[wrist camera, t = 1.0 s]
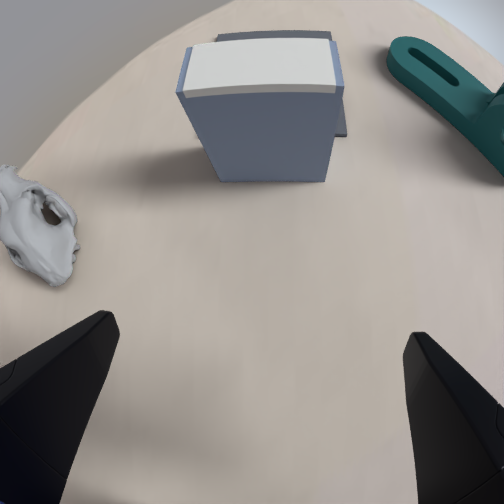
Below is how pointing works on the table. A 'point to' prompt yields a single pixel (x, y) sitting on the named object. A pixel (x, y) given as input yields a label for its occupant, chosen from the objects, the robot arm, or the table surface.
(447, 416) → the robot arm
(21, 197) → the skull
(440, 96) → the bracket
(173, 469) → the table surface
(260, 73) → the book block
